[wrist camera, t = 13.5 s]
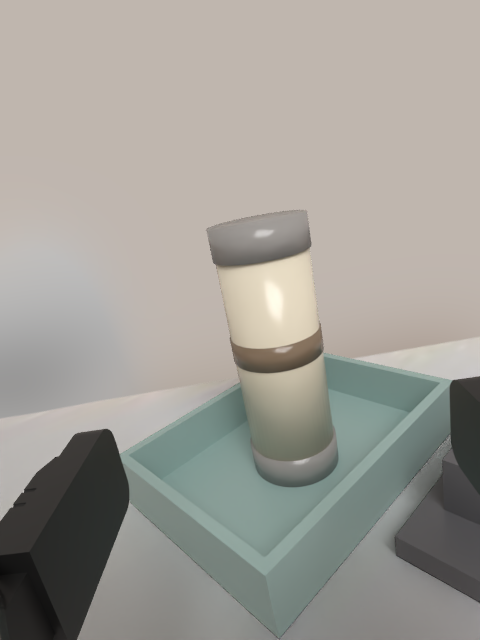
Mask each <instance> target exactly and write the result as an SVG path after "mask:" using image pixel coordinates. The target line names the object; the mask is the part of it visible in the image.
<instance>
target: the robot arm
mask: <svg viewBox="0 0 480 640" xmlns="http://www.w3.org/2000/svg"><path fill="white" fill-rule="evenodd" d="M449 393H450V428H451V444H452V449H453V453H454V456H455V459H456V461H457V463H458V465H459V467H460V468H461V470H462V471H463V473H464V474H465V476H466V477H467V478H468V480H469V481H470V483H471V484H472V485H473V487H474V488H475V490H476V491H477V492H478V494H479V495H480V376H479V377H472V378H465V379H458V380H453V381H452V382H451V384H450V391H449ZM128 504H129V483H128V479H127V476H126V473H125V470H124V467H123V464H122V461H121V457H120V454H119V451H118V448H117V445H116V442H115V439H114V436H113V434H112V432H111V431H110V430H108V429H102V430H95V431H88V432H81V433H77V434H75V435H74V436H73V437H72V439H71V440H70V442H69V443H68V444H67V446H66V447H65V449H64V450H63V452H62V453H61V454H60V456H59V457H55V458H54V459H53V460H52V461H50V462H49V463H48V464H47V465H45V466H44V467H43V468H42V469H41V470H39V471H38V472H37V473H36V474H35V476H34V477H33V478H32V480H31V481H30V482H29V484H28V485H27V486H26V488H25V489H24V493H21V494H20V496H19V497H18V499H17V500H16V501H15V503H14V504H13V505H14V506H13V508H10V509H9V511H8V512H7V513H6V515H5V516H4V517H3V519H2V520H1V521H0V640H77V638H78V635H79V633H80V630H81V628H82V625H83V622H84V620H85V617H86V615H87V612H88V609H89V607H90V604H91V602H92V599H93V597H94V594H95V591H96V589H97V586H98V584H99V581H100V578H101V576H102V573H103V571H104V568H105V565H106V563H107V560H108V558H109V555H110V553H111V550H112V547H113V545H114V542H115V540H116V537H117V534H118V532H119V529H120V527H121V524H122V522H123V519H124V516H125V514H126V511H127V508H128Z"/></svg>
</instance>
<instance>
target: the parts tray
mask: <svg viewBox="0 0 480 640" xmlns="http://www.w3.org/2000/svg"><path fill="white" fill-rule="evenodd" d="M323 354H324V362H325V370H326V377H327V385H328V393H329V400H330V408H331V415H332V423H333V426H334V428H335V431H336V439H337V447H338V454H339V460H338V464H337V466H336V468H335V469H334V471H333V472H332V473H331V474H330V475H329V476H327V477H326V478H325V479H323V480H321V481H319V482H317V483H314V484H312V485H308V486H303V487H282V486H277V485H274V484H271V483H269V482H267V481H266V480H264V479H263V478H262V477H261V476H260V475H259V474H258V472H257V470H256V467H255V463H254V458H253V453H252V448H251V443H250V438H251V434H250V429H249V424H248V419H247V415H246V410H245V405H244V400H243V395H242V390H241V385H240V383H238V384H236V385H235V386H233V387H231V388H230V389H228V390H226V391H225V392H223V393H221V394H220V395H218V396H216V397H215V398H213V399H211V400H210V401H208V402H206V403H205V404H203V405H201V406H200V407H198V408H196V409H195V410H193V411H191V412H190V413H188V414H186V415H185V416H183V417H181V418H180V419H178V420H176V421H175V422H173V423H171V424H170V425H168V426H166V427H165V428H163V429H161V430H160V431H158V432H156V433H155V434H153V435H151V436H150V437H148V438H146V439H145V440H143V441H141V442H140V443H138V444H136V445H135V446H133V447H131V448H130V449H128V450H126V451H125V452H123V453H121V454H120V457H121V461H122V464H123V467H124V470H125V473H126V476H127V479H128V483H129V499H130V502H131V503H132V504H133V505H134V506H135V507H136V508H137V509H138V510H139V511H140V512H142V513H143V514H144V515H145V516H146V517H147V518H148V519H149V520H150V521H151V522H152V523H153V524H155V525H156V526H157V527H158V528H159V529H160V530H161V531H162V532H163V533H164V534H165V535H167V536H168V537H169V538H170V539H171V540H172V541H173V542H174V543H175V544H176V545H177V546H179V547H180V548H181V549H182V550H183V551H184V552H185V553H186V554H187V555H188V556H189V557H190V558H192V559H193V560H194V561H195V562H196V563H197V564H198V565H199V566H200V567H201V568H202V569H204V570H205V571H206V572H207V573H208V574H209V575H210V576H211V577H212V578H213V579H214V580H216V581H217V582H218V583H219V584H220V585H221V586H222V587H223V588H224V589H225V590H226V591H227V592H229V593H230V594H231V595H232V596H233V597H234V598H235V599H236V600H237V601H238V602H239V603H241V604H242V605H243V606H244V607H245V608H246V609H247V610H248V611H249V612H250V613H251V614H253V615H254V616H255V617H256V618H257V619H258V620H259V621H260V622H261V623H262V624H263V625H264V626H266V627H267V628H268V629H269V630H270V631H271V632H272V633H273V634H274V635H275V636H276V637H278V638H279V639H280V637H281V636H282V635H283V634H284V633H285V631H286V630H287V629H288V628H289V626H290V625H291V624H292V623H293V622H294V620H295V619H296V618H297V617H298V616H299V614H300V613H301V612H302V611H303V610H304V608H305V607H306V606H307V605H308V604H309V602H310V601H311V600H312V599H313V598H314V596H315V595H316V594H317V593H318V592H319V590H320V589H321V588H322V587H323V586H324V584H325V583H326V582H327V581H328V580H329V578H330V577H331V576H332V575H333V574H334V572H335V571H336V570H337V569H338V568H339V566H340V565H341V564H342V563H343V562H344V560H345V559H346V558H347V557H348V555H349V554H350V553H351V552H352V551H353V549H354V548H355V547H356V546H357V545H358V543H359V542H360V541H361V540H362V539H363V537H364V536H365V535H366V534H367V533H368V531H369V530H370V529H371V528H372V527H373V525H374V524H375V523H376V522H377V521H378V519H379V518H380V517H381V516H382V515H383V513H384V512H385V511H386V510H387V509H388V507H389V506H390V505H391V504H392V503H393V501H394V500H395V499H396V498H397V497H398V495H399V494H400V493H401V492H402V491H403V489H404V488H405V487H406V486H407V485H408V483H409V482H410V481H411V480H412V478H413V477H414V476H415V475H416V474H417V472H418V471H419V470H420V469H421V468H422V466H423V465H424V464H425V463H426V462H427V460H428V459H429V458H430V457H431V456H432V454H433V453H434V452H435V451H436V450H437V448H438V447H439V446H440V445H441V444H442V442H443V441H444V440H445V439H446V438H447V436H448V435H449V434H450V433H451V428H450V393H449V391H450V384H451V382H452V381H453V380H448V379H443V378H439V377H434V376H429V375H425V374H420V373H415V372H411V371H406V370H401V369H397V368H392V367H388V366H383V365H378V364H374V363H369V362H364V361H360V360H355V359H350V358H345V357H341V356H336V355H332V354H327V353H323Z"/></svg>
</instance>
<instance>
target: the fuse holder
mask: <svg viewBox="0 0 480 640" xmlns="http://www.w3.org/2000/svg"><path fill="white" fill-rule="evenodd" d="M442 464H443V474H442V476H441V477H440V478H439V480H438V481H437V482H436V483H435V485H434V486H433V487H432V489H431V490H430V491H429V493H428V494H427V495H426V497H425V498H424V499H423V500H422V502H421V503H420V504H419V506H418V507H417V508H416V510H415V511H414V512H413V514H412V515H411V516H410V518H409V519H408V520H407V521H406V523H405V524H404V525H403V527H402V528H401V529H400V531H399V532H398V533H397V535H396V536H395V542H396V554H397V556H399V557H400V558H402V559H404V560H406V561H408V562H409V563H411V564H413V565H415V566H416V567H418V568H420V569H422V570H423V571H425V572H427V573H429V574H431V575H432V576H434V577H436V578H438V579H439V580H441V581H443V582H445V583H447V584H448V585H450V586H452V587H454V588H455V589H457V590H459V591H461V592H463V593H464V594H466V595H468V596H470V597H471V598H473V599H475V600H477V601H479V602H480V495H479V494H478V492H477V491H476V490H475V488H474V487H473V485H472V484H471V483H470V481H469V480H468V478H467V477H466V476H465V474H464V473H463V471H462V470H461V468H460V467H459V465H458V463H457V461H456V459H455V456H454V453H453V449H452V448H451V450H450V451H449V452H448V453H447V455H446V456H445V457H444V458H443V460H442Z"/></svg>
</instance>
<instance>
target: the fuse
mask: <svg viewBox="0 0 480 640" xmlns="http://www.w3.org/2000/svg"><path fill="white" fill-rule="evenodd" d="M207 235H208V240H209V245H210V250H211V255H212V259H213V263H214V264H216V268H217V273H218V278H219V282H220V287H221V292H222V297H223V302H224V307H225V312H226V317H227V322H228V327H229V332H230V341H231V346H232V351H233V356H234V361H235V363H236V365H237V371H238V376H239V380H240V385H241V390H242V395H243V400H244V405H245V410H246V415H247V419H248V424H249V429H250V434H251V438H250V443H251V448H252V453H253V458H254V463H255V467H256V470H257V472H258V474H259V475H260V476H261V477H262V478H263V479H264V480H266V481H267V482H269V483H271V484H274V485H277V486H282V487H303V486H308V485H312V484H314V483H317V482H319V481H321V480H323V479H325V478H326V477H327V476H329V475H330V474H331V473H332V472H333V471H334V469H335V468H336V466H337V464H338V460H339V454H338V447H337V439H336V431H335V428H334V426H333V423H332V415H331V408H330V400H329V393H328V385H327V377H326V370H325V362H324V354H323V349H324V347H323V339H322V331H321V324H320V322H319V316H318V309H317V301H316V294H315V286H314V279H313V271H312V263H311V255H310V247H311V238H310V231H309V223H308V216H307V211H306V210H292V211H282V212H275V213H268V214H262V215H257V216H251V217H247V218H242V219H238V220H233V221H229V222H225V223H221V224H218V225H215V226H212V227H210V228H208V229H207Z"/></svg>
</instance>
